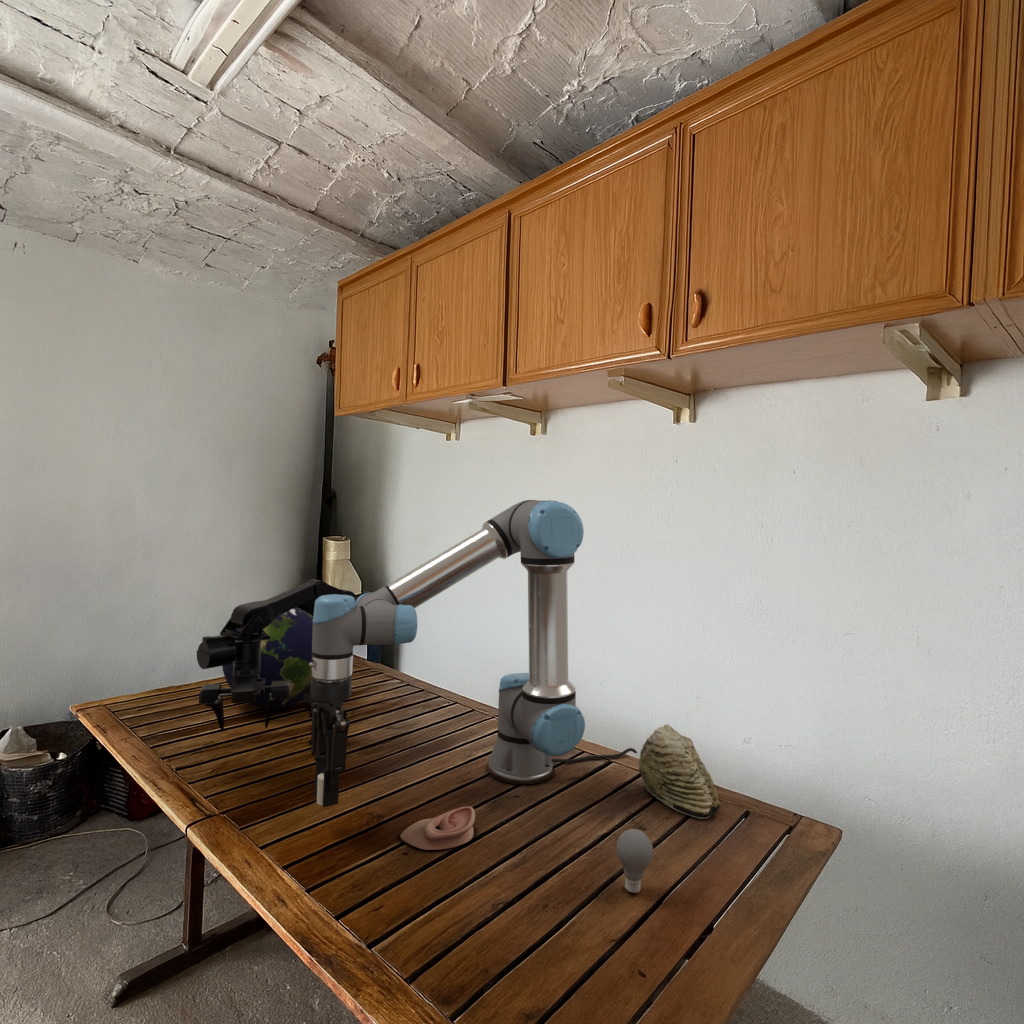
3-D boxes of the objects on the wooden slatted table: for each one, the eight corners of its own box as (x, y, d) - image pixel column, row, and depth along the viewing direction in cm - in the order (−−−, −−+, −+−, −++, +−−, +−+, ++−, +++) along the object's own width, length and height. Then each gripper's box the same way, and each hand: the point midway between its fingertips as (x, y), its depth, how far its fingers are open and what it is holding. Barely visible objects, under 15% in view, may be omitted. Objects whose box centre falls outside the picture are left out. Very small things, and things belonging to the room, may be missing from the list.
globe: (289, 685, 209) (292, 594, 208) (348, 705, 191) (352, 606, 191) (199, 706, 185) (203, 604, 184) (258, 732, 167) (262, 619, 167)
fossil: (649, 780, 149) (652, 716, 148) (724, 809, 136) (728, 740, 135) (628, 791, 142) (631, 725, 142) (704, 823, 129) (708, 750, 129)
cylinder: (313, 805, 118) (314, 779, 118) (320, 796, 122) (321, 770, 122) (333, 806, 118) (334, 780, 118) (339, 797, 122) (340, 771, 122)
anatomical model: (394, 823, 116) (416, 795, 127) (393, 845, 116) (415, 815, 127) (464, 834, 113) (480, 805, 125) (463, 856, 113) (479, 825, 125)
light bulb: (610, 879, 108) (613, 822, 108) (644, 879, 109) (647, 822, 109) (619, 902, 102) (622, 840, 102) (655, 901, 103) (658, 840, 103)
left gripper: (196, 672, 133) (193, 745, 134) (289, 668, 139) (287, 739, 140) (203, 659, 144) (201, 727, 144) (290, 656, 150) (288, 721, 150)
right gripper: (296, 669, 124) (291, 787, 125) (328, 692, 111) (322, 824, 111) (333, 664, 129) (328, 778, 129) (368, 686, 115) (362, 813, 116)
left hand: (244, 729), depth 144 cm, fingers open, 9 cm apart
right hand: (326, 799), depth 120 cm, fingers closed on cylinder, 4 cm apart
